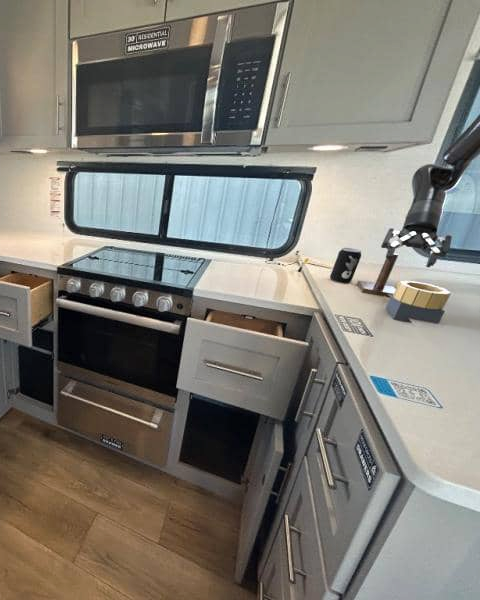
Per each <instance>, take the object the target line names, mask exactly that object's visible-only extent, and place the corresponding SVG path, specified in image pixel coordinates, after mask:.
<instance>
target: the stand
mask: <svg viewBox="0 0 480 600" xmlns="http://www.w3.org/2000/svg"><path fill="white" fill-rule="evenodd" d="M399 255H400V254H399V253H395V252H394V255H393V257H392V259H391V261H389V260H388V258H386V257H385V259H384V262H383V265H382V267H381V269H380V272H379V274H378V276H377V279H376V281H375V283H374V282H370V281H369V282H368V281H362V280H358V281H357V283H356V286H357V287H358V289H359V290H360V292H361V293H362V294H367V295H374V296H380V297H384V296H385V298H390V297H391V295H392V293H393V294H394V292H395V290H396V288H395V286H393V285H387V282H388V280H389V278H390V275H391V274H392V271H393V269H394V267H395V264H396V262H397V259H398V257H399Z"/></svg>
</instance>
